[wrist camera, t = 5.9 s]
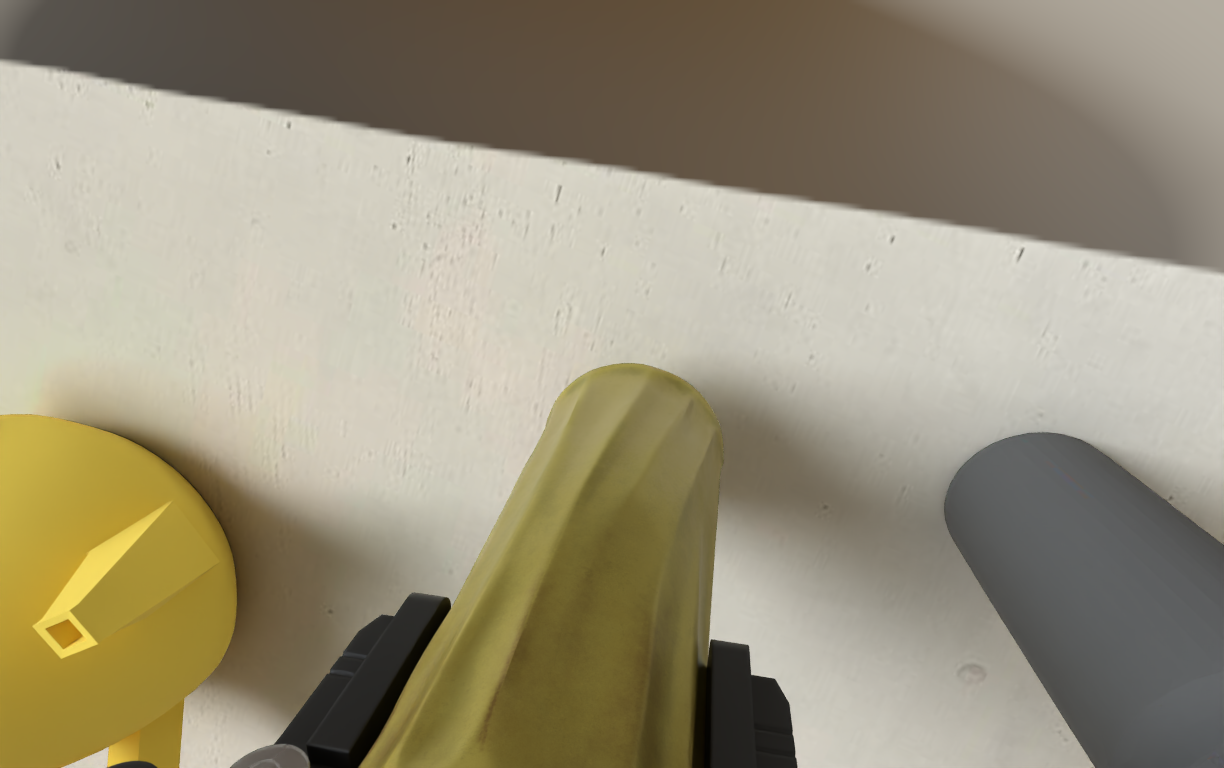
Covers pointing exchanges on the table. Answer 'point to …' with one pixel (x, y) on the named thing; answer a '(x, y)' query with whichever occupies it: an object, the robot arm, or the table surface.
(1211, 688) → the bottle
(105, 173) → the table surface
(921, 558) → the table surface
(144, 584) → the teapot
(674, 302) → the table surface
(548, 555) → the vase
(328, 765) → the robot arm
